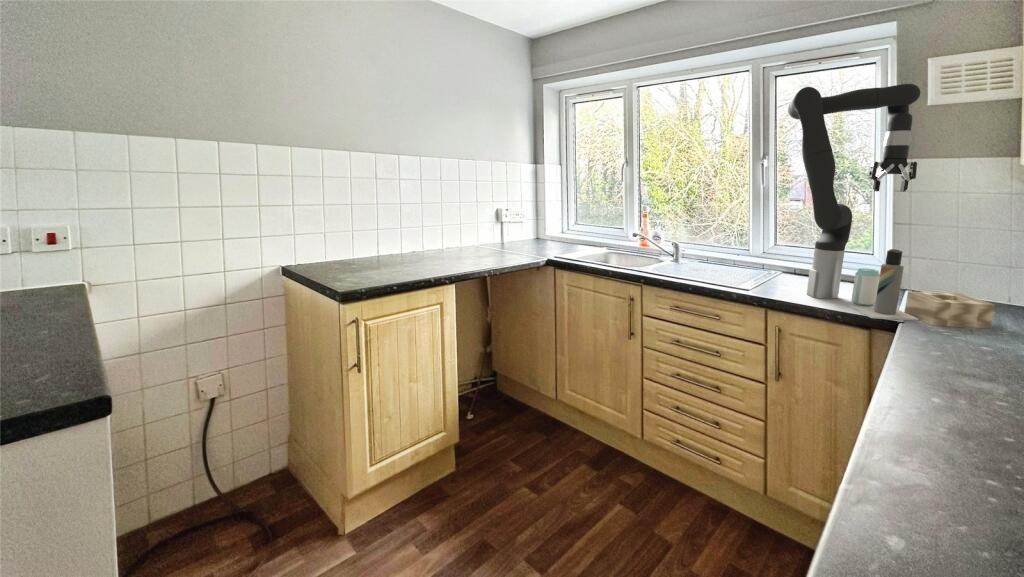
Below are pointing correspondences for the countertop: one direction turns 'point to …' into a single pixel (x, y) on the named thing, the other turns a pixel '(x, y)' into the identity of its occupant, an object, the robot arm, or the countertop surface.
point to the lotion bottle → (889, 283)
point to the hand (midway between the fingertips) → (889, 191)
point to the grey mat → (872, 314)
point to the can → (865, 287)
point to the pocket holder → (949, 309)
